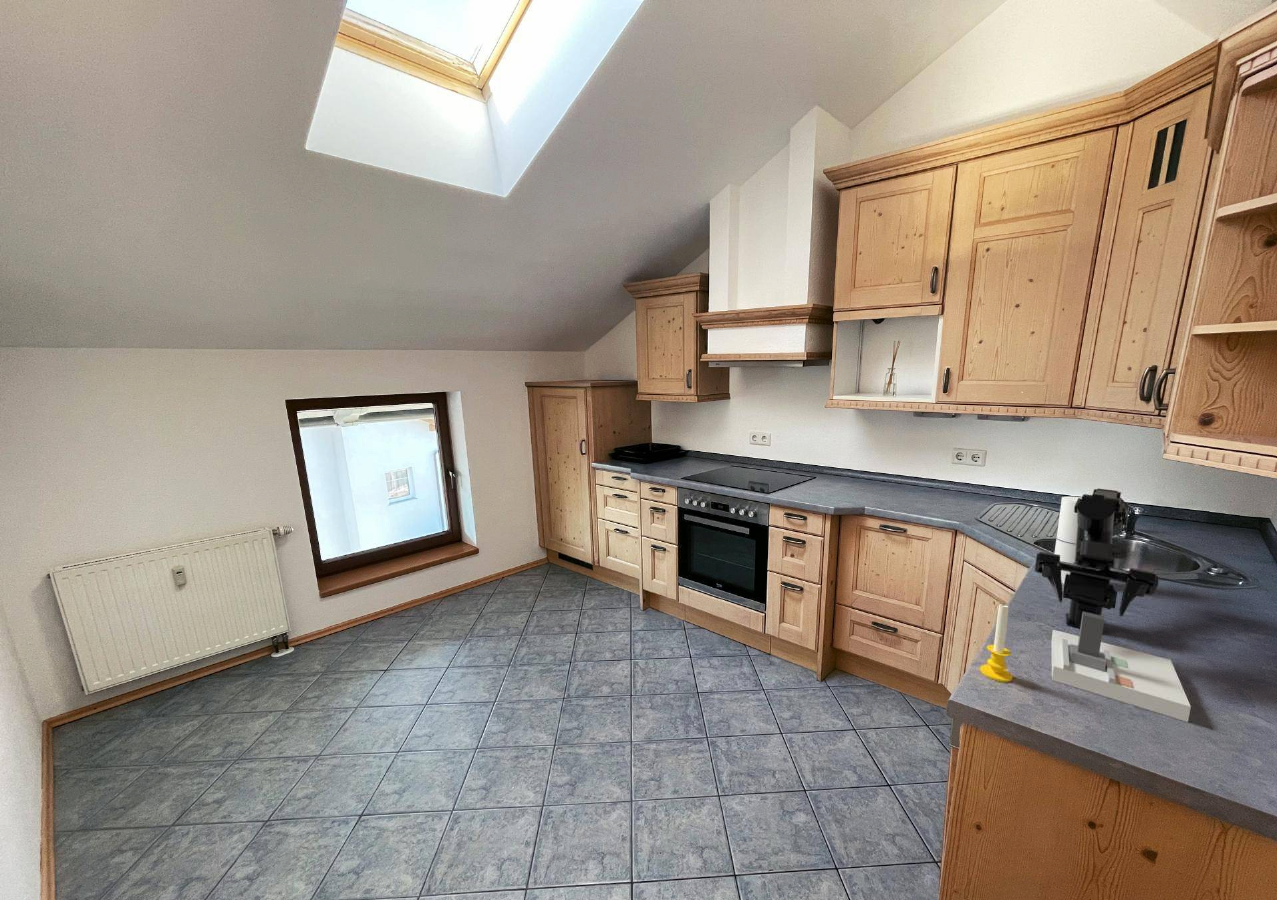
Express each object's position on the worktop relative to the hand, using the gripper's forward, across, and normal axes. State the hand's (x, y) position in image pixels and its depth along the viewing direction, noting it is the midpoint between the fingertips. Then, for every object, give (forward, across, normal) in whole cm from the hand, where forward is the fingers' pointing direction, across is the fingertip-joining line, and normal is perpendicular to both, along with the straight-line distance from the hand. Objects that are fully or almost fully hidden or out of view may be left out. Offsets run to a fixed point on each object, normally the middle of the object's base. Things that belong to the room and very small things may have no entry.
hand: (1090, 608), depth 98 cm
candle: (+21, -14, -3) cm, 25 cm away
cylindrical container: (-28, -1, +45) cm, 53 cm away
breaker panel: (+11, +4, +7) cm, 13 cm away
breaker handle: (+11, 0, +2) cm, 11 cm away
